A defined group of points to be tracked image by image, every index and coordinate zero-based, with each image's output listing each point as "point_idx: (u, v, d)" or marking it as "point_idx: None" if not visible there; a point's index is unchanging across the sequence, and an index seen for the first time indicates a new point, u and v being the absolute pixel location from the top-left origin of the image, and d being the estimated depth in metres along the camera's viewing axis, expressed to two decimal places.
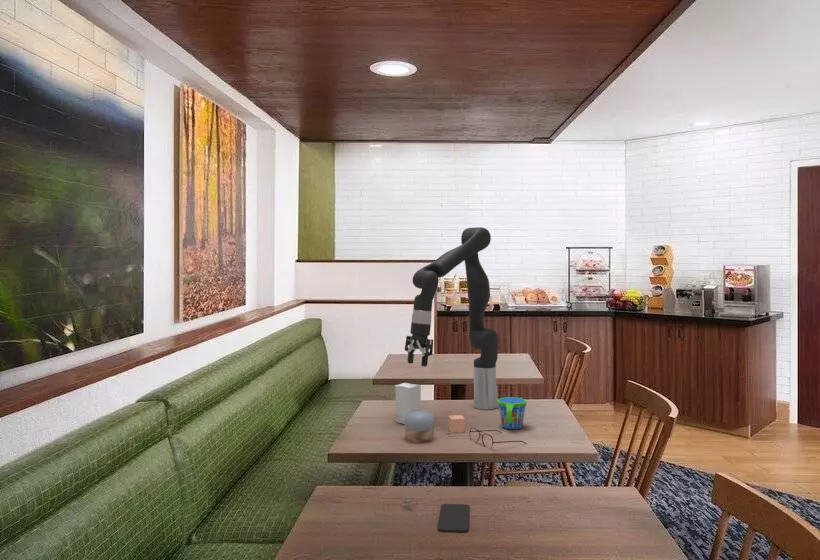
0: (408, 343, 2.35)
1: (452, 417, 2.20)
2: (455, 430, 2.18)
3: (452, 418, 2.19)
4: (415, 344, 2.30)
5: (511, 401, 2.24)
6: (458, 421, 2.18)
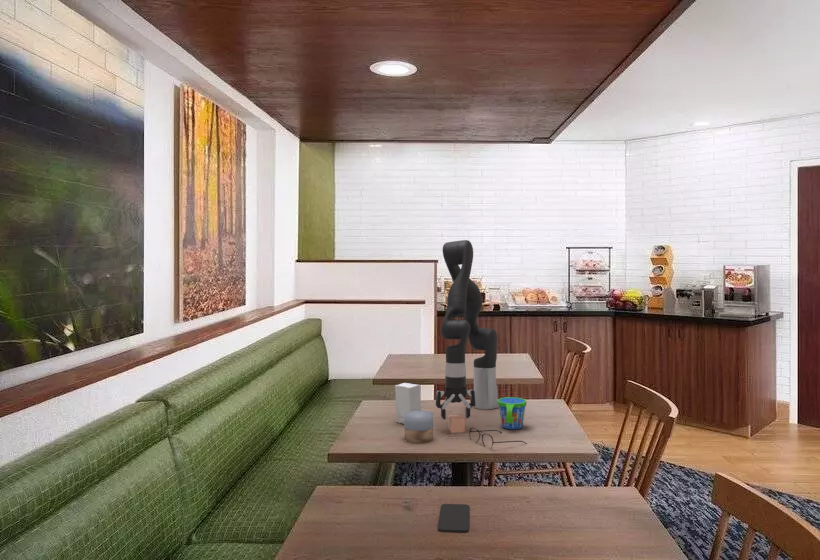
0: None
1: (452, 417, 2.20)
2: (455, 430, 2.18)
3: (452, 418, 2.19)
4: (454, 398, 2.19)
5: (511, 401, 2.24)
6: (458, 421, 2.18)
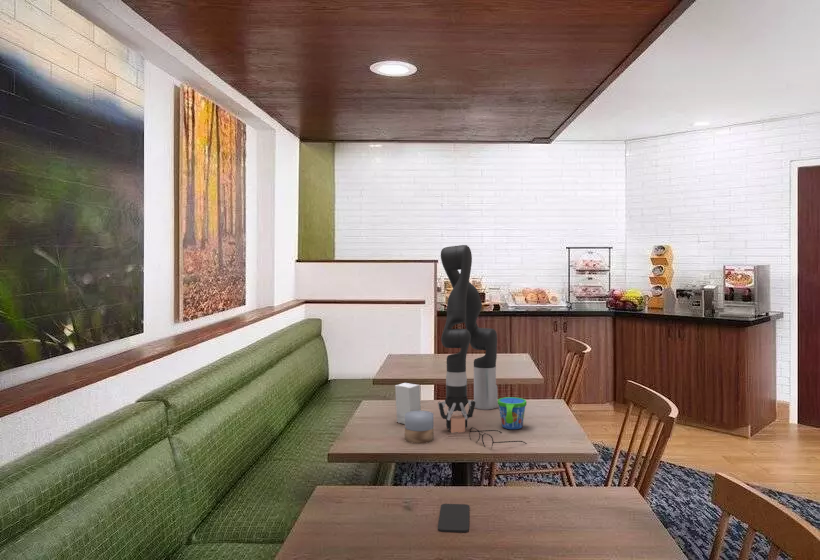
0: (443, 409, 2.19)
1: (452, 417, 2.20)
2: (455, 430, 2.18)
3: (452, 418, 2.19)
4: (456, 406, 2.19)
5: (511, 401, 2.24)
6: (458, 421, 2.18)
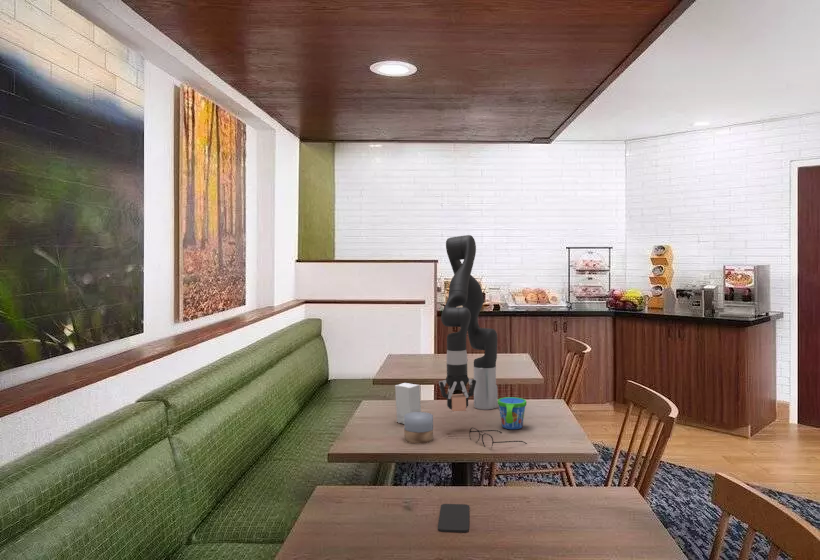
0: None
1: (453, 396, 2.19)
2: (456, 408, 2.17)
3: (453, 397, 2.18)
4: (457, 385, 2.18)
5: (511, 401, 2.24)
6: (459, 399, 2.17)
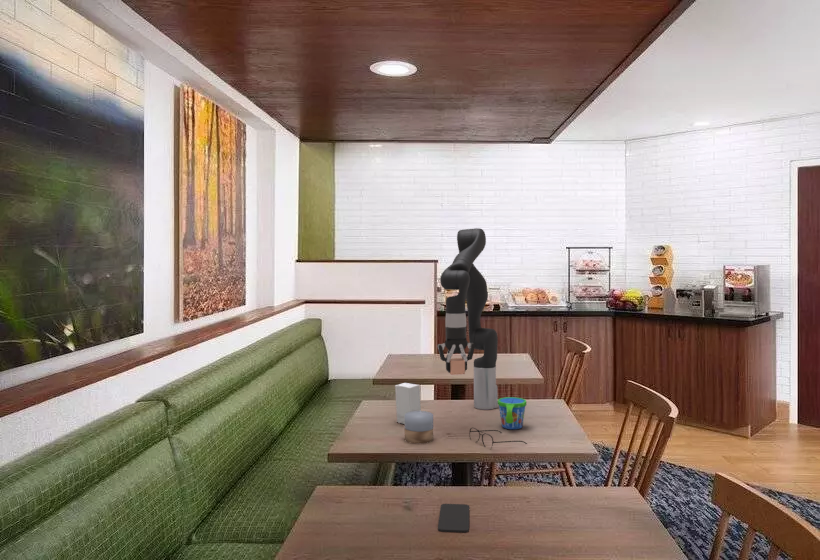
0: None
1: (452, 359, 2.19)
2: (455, 372, 2.17)
3: (452, 360, 2.18)
4: (455, 348, 2.18)
5: (511, 401, 2.24)
6: (458, 363, 2.17)
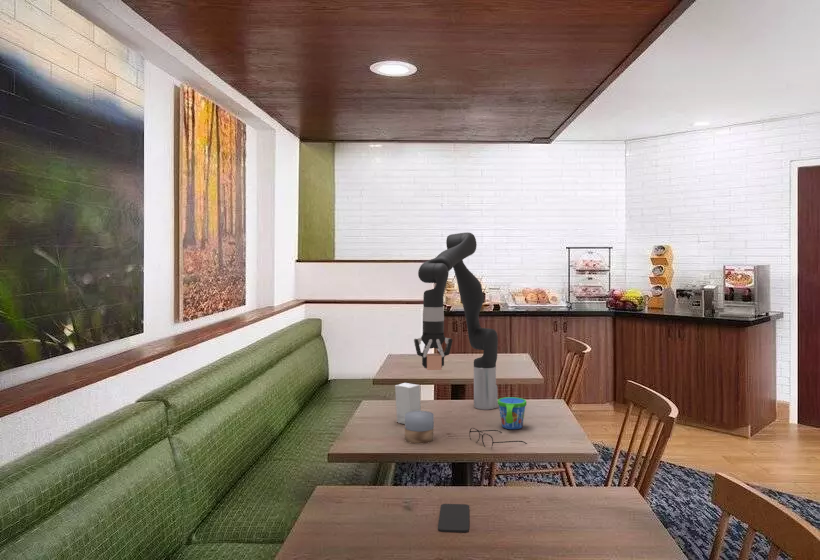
0: None
1: (428, 354, 2.13)
2: (431, 367, 2.11)
3: (428, 355, 2.11)
4: (432, 343, 2.12)
5: (511, 401, 2.24)
6: (434, 358, 2.11)
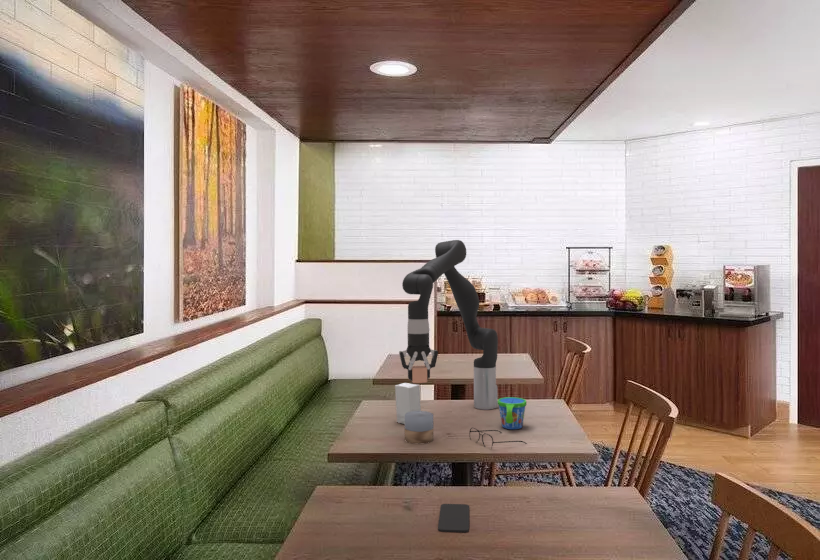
0: (404, 359, 2.09)
1: (414, 367, 2.10)
2: (417, 380, 2.08)
3: (414, 367, 2.08)
4: (418, 356, 2.09)
5: (511, 401, 2.24)
6: (420, 370, 2.08)
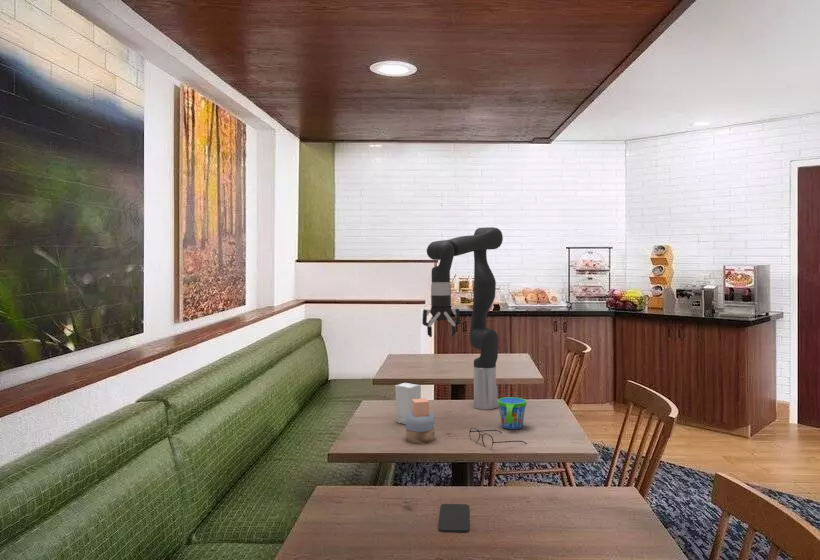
0: (426, 317, 2.28)
1: (415, 400, 2.10)
2: (418, 414, 2.08)
3: (415, 401, 2.08)
4: (439, 316, 2.29)
5: (511, 401, 2.24)
6: (422, 404, 2.08)
